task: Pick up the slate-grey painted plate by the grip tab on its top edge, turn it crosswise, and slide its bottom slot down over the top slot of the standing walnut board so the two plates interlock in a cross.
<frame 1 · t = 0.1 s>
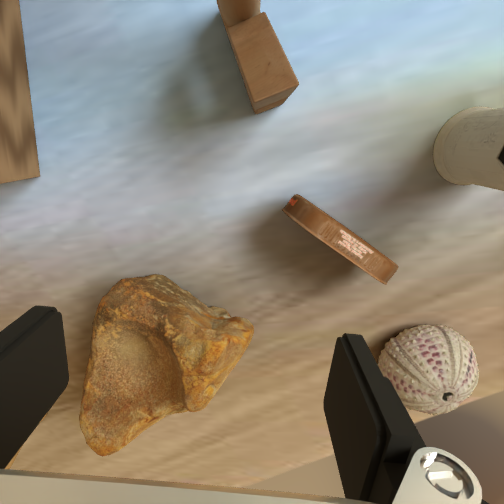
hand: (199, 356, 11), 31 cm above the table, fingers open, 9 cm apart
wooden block: (253, 59, 36), on the table
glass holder: (483, 123, 37), on the table
tin: (332, 228, 42), on the table
sea urchin shell: (417, 355, 48), on the table
rough brown rock: (168, 314, 47), on the table
walnut slotted board: (17, 74, 36), on the table
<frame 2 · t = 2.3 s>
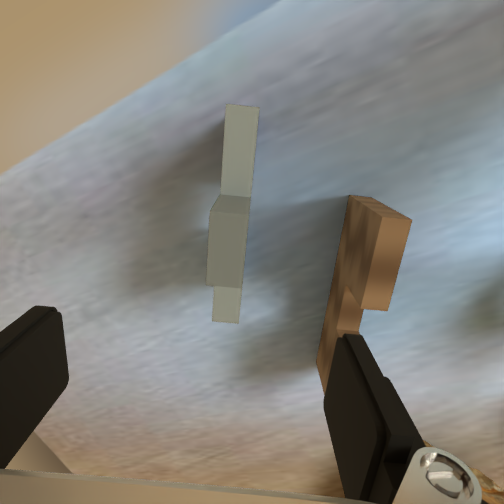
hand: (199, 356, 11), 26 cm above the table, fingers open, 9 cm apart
rough brown rock: (415, 469, 49), on the table
walnut slotted board: (340, 287, 39), on the table
grey slotted plate: (239, 202, 36), on the table
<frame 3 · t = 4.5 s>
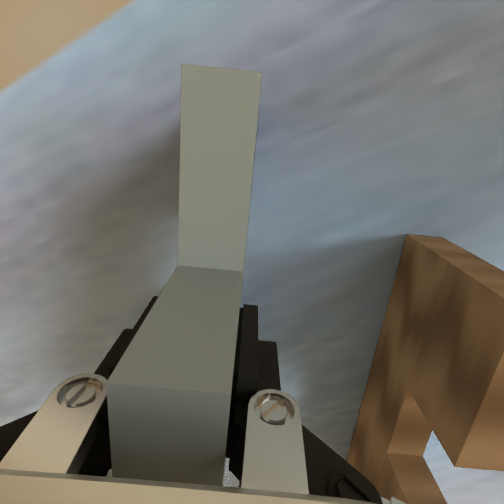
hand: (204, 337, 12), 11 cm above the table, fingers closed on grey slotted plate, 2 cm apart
walnut slotted board: (386, 370, 25), on the table
grey slotted plate: (228, 245, 22), on the table, touching gripper
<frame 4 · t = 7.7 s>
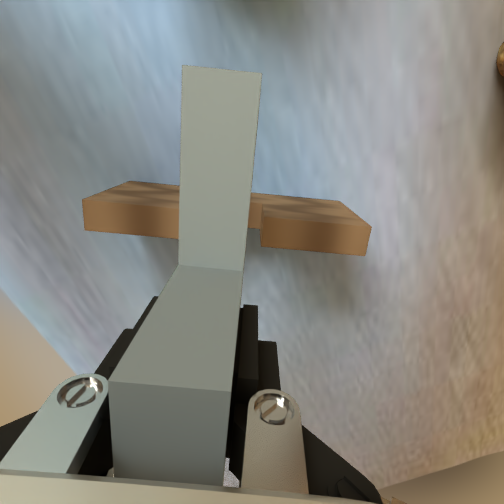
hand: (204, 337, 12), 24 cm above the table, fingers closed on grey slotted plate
walnut slotted board: (234, 202, 34), on the table
grey slotted plate: (228, 245, 22), point 13 cm above the table, touching gripper
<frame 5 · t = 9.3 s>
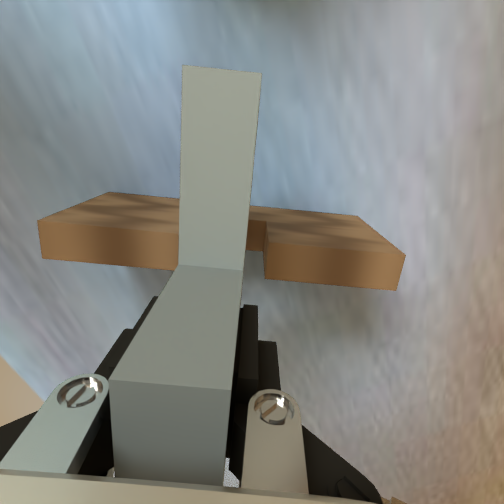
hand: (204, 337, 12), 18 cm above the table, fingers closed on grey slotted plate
walnut slotted board: (233, 217, 29), on the table
grey slotted plate: (228, 245, 22), point 7 cm above the table, touching gripper
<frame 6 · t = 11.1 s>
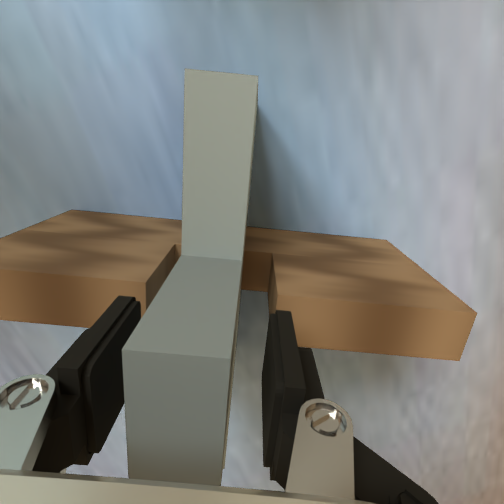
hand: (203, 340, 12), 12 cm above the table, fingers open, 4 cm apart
walnut slotted board: (229, 241, 23), on the table
grey slotted plate: (228, 240, 23), on the table, touching walnut slotted board
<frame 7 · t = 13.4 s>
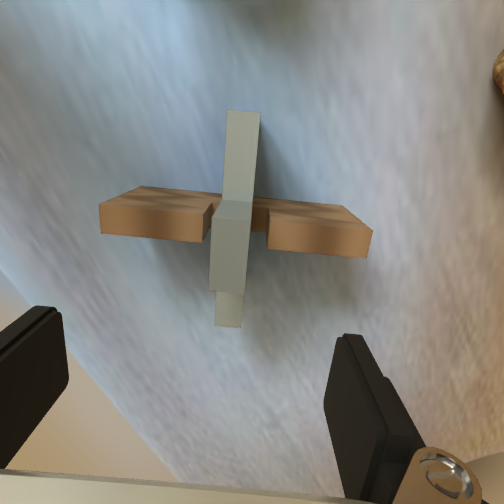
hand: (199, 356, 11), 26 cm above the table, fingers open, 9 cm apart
walnut slotted board: (241, 206, 36), on the table
grey slotted plate: (240, 206, 36), on the table, touching walnut slotted board
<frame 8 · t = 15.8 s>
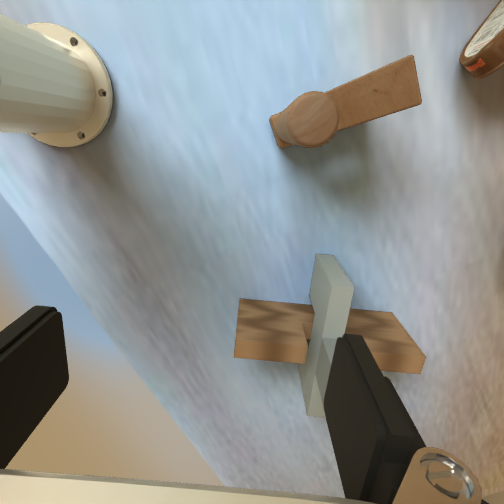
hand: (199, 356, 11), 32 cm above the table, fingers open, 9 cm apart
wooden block: (316, 116, 38), on the table
tin: (501, 12, 35), on the table
walnut slotted board: (314, 312, 47), on the table
grey slotted plate: (314, 312, 47), on the table, touching walnut slotted board
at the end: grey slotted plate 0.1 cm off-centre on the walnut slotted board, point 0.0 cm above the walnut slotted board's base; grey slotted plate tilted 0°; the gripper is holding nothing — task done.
